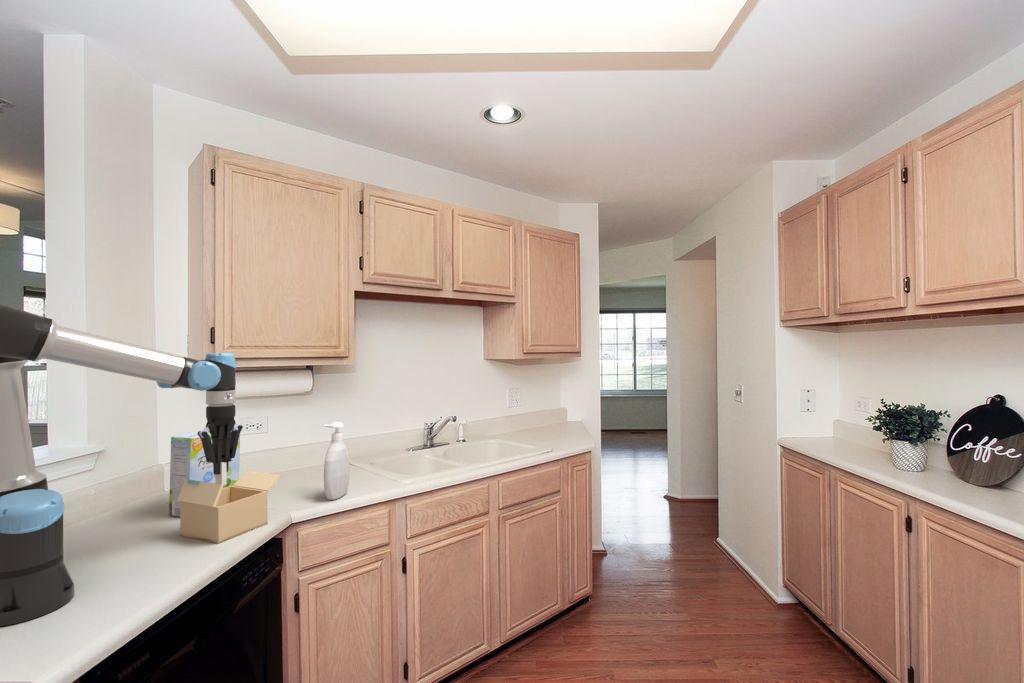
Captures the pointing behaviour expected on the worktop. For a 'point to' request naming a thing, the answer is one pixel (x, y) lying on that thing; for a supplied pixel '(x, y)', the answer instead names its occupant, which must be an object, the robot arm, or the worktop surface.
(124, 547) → the worktop surface
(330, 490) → the soap bottle
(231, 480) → the snack box
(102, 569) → the worktop surface
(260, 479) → the flap
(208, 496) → the flap
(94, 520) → the worktop surface
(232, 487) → the carton
